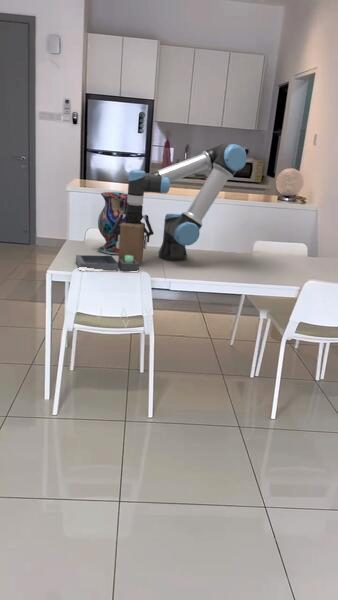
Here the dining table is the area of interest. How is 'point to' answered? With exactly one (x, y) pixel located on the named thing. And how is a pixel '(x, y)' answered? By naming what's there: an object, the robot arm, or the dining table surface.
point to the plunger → (128, 259)
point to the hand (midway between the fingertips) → (131, 248)
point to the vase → (111, 219)
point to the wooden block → (131, 240)
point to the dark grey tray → (97, 262)
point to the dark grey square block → (128, 265)
